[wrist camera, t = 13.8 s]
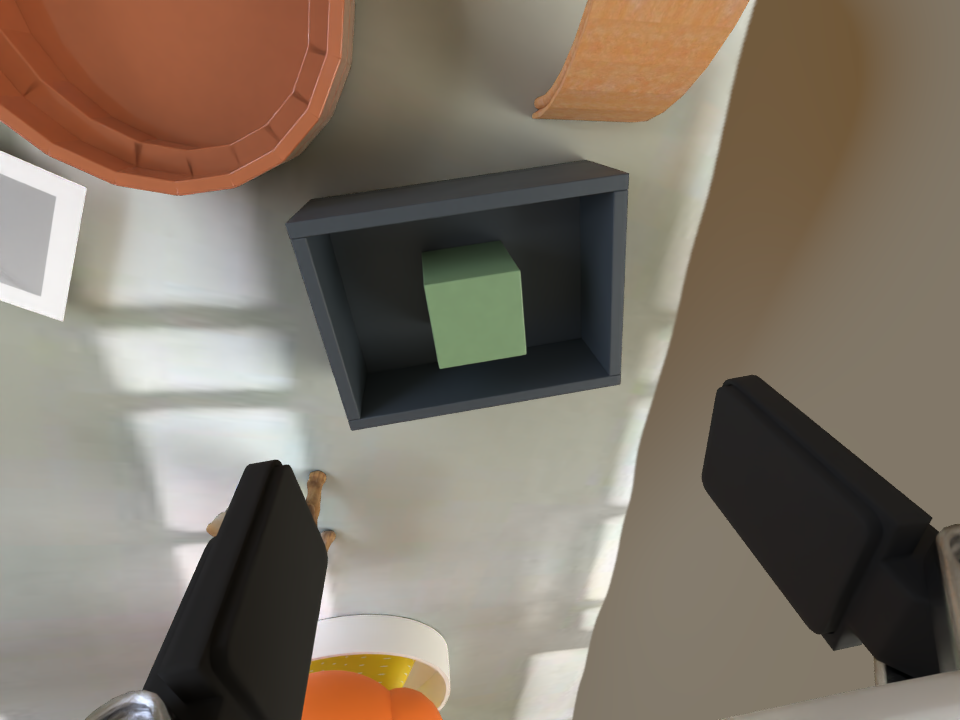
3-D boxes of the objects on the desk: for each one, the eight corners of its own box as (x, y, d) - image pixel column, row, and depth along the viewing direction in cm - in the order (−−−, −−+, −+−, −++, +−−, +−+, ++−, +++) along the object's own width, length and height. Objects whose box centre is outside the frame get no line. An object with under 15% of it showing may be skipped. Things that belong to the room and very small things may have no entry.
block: (421, 251, 26) (423, 285, 22) (500, 239, 27) (520, 270, 22) (434, 324, 29) (439, 369, 24) (507, 312, 29) (527, 355, 24)
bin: (309, 199, 25) (284, 223, 20) (586, 159, 26) (629, 173, 21) (360, 377, 31) (351, 431, 26) (587, 340, 32) (620, 384, 27)
